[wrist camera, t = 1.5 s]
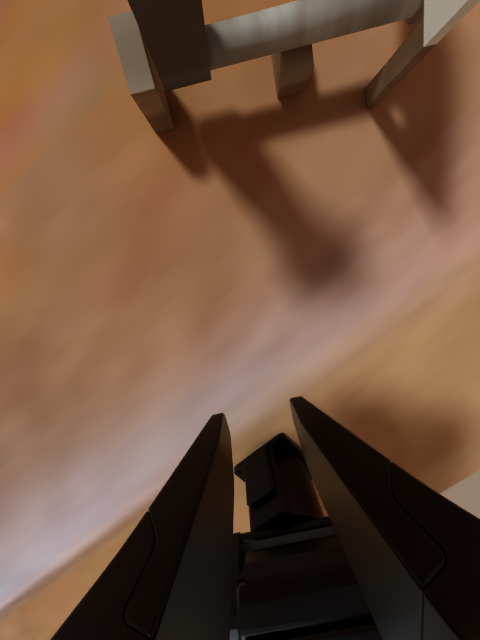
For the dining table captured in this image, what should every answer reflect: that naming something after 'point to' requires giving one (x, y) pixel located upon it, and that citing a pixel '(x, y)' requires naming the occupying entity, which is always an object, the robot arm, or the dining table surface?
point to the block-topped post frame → (251, 31)
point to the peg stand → (287, 66)
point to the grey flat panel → (443, 17)
